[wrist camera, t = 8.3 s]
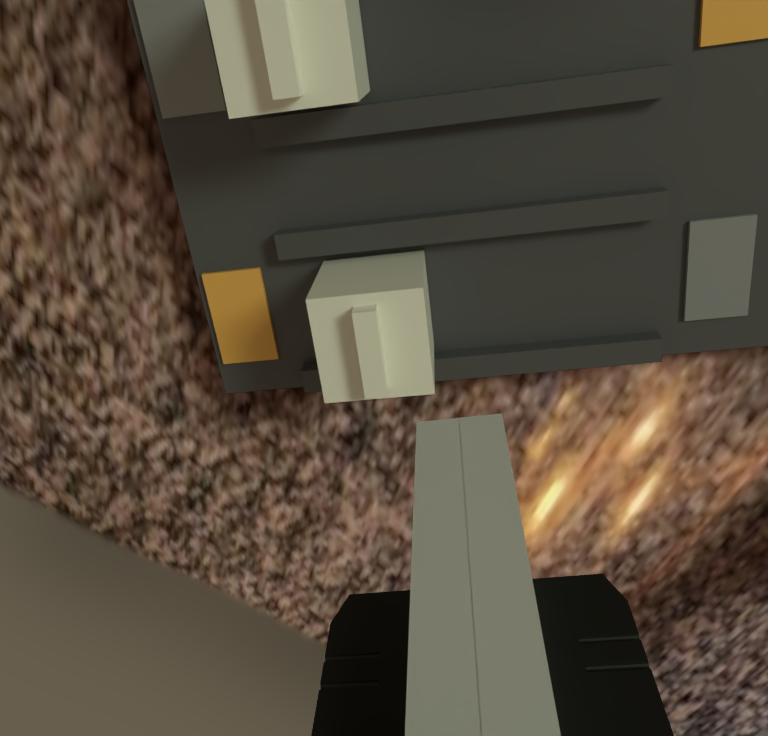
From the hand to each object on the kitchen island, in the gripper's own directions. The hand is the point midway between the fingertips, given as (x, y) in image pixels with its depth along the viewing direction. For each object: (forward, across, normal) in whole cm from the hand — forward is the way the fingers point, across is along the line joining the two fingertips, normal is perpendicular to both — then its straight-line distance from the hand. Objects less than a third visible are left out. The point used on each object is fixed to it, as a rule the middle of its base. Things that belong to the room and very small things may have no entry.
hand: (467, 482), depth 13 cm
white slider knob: (+16, -4, +8) cm, 18 cm away
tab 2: (+16, -3, -2) cm, 16 cm away
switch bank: (+18, +4, +3) cm, 19 cm away
